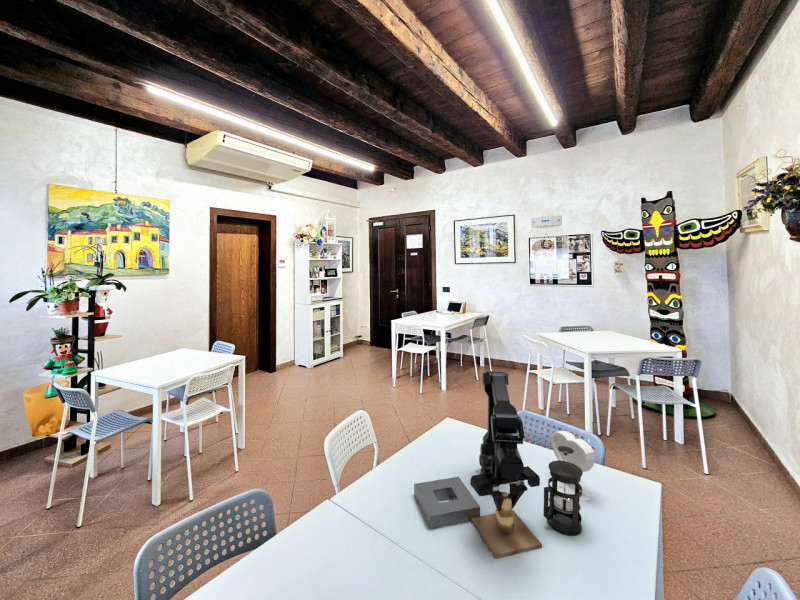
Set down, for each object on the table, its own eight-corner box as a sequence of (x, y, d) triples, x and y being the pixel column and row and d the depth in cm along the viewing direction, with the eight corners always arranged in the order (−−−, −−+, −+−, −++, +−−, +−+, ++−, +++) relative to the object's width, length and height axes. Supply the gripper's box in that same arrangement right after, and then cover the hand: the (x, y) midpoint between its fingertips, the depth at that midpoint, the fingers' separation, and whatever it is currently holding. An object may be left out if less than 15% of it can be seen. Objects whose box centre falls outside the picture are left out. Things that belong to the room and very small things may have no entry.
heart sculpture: (548, 476, 125) (549, 428, 123) (560, 473, 126) (561, 426, 125) (583, 503, 110) (584, 449, 109) (595, 500, 111) (597, 446, 110)
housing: (458, 487, 119) (458, 476, 119) (480, 519, 103) (480, 506, 103) (414, 495, 115) (414, 483, 115) (429, 529, 100) (429, 516, 99)
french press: (568, 510, 107) (570, 438, 105) (591, 532, 98) (594, 453, 96) (535, 516, 104) (536, 443, 102) (556, 540, 95) (557, 459, 93)
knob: (507, 518, 100) (508, 489, 100) (517, 531, 96) (518, 500, 95) (492, 521, 99) (492, 492, 99) (501, 534, 94) (501, 503, 94)
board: (512, 512, 106) (512, 509, 106) (542, 547, 92) (542, 544, 92) (471, 521, 103) (471, 518, 103) (494, 558, 89) (494, 555, 89)
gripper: (518, 438, 106) (517, 486, 107) (462, 446, 101) (462, 497, 103) (541, 456, 95) (540, 510, 96) (479, 466, 91) (479, 523, 92)
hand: (504, 509), depth 97 cm, fingers closed on knob, 4 cm apart
